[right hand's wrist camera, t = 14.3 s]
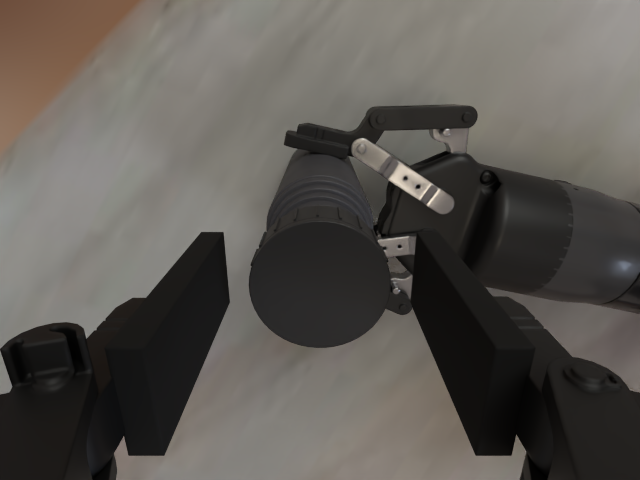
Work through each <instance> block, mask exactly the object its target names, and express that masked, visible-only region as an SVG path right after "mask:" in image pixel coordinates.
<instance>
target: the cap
mask: <svg viewBox="0 0 640 480" xmlns="http://www.w3.org/2000/svg"><path fill="white" fill-rule="evenodd" d="M387 262H388V259H387V257H386V254H385V252H384V249H383V247H382V246H380V244H379V242H378V239H377V237H376V235H375V232H374V230H373V228H372V229H370V227H369V226H368V225H367V224H366V223H365V222H364V221H363V220H361V219H360V217H359V216H358V215H357V216H356V215H354V214H352V213H350V212H348V211H346V210H343V209H341V208H340V207H339V206H338V208H336V207H332V206H324V205H321V206H319V204H317V206H308V207H303V208H300V209H298V208H296V209H295V210H294V211H292V212H290V213H288V214H286V215H284V216H283V217H281V218H280V217H279V218H277V221H276V222H275V223H274V224H273V225H272V226H271V227H270V228H269V230H268V231H267V232H264V234H263V237H262V239H261V242H260V244H259V249H257V250H256V252H255V255H254V257H253V260H252V262H251V266H252V267H251V271H250V276H249V291H250V297H251V301H252V304H253V306H254V309H255V311H256V312H257V314H258V316H259V317H260V319H261V320H262V321H263V323H264V324H265V325H266V326H267V327H268V328H269V329H270V330H271V331H273V332H274V333H275V334H277V335H278V336H280V337H281V338H283V339H285V340H287V341H289V342H292V343H295V344H298V345H301V346H306V347H314V348H327V347H334V346H338V345H343V344H345V343H348V342H351V341H353V340H355V339H357V338H359V337H360V336H362V335H363V334H365V333H366V332H367V331H368V330H370V329H371V328H372V327H373V326H374V325H375V324H376V322H377V321H378V320H379V318H380V317H381V316H382V314H383V312H384V310H385V308H386V306H387V303H388V300H389V296H390V291H391V278H390V272H389V268H388V265H387Z"/></svg>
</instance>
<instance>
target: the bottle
mask: <svg viewBox="0 0 640 480" xmlns="http://www.w3.org/2000/svg"><path fill="white" fill-rule="evenodd" d="M317 204H319V206H321V205H324V206H332V207H336V208H338V206H339V207H340V208H341V209H343V210H346V211H348V212H350V213H352V214H354V215H356V216H357V215H358V216H359V217H360V219H361V220H363V221H364V222H365V223H366V224H367V225H368V226H369V227H370V229H372V228H373V216H372V212H371V209H370V206H369V204H368V201H367V199H366V197H365V194H364V192H363V190H362V187H361V185H360V183H359V180H358V178H357V176H356V173H355V171H354V169H353V166H352V164H351V162H350V159H349V157H348V156H347V158H346V159H342V158H338V157H333V156H330V155H324V154H320V153H315V152H311V151H306V150H302V149H297V150H296V152H295V153H294V154H293V156H292V158H291V160H290V162H289V165H288V167H287V169H286V172H285V174H284V176H283V179H282V181H281V183H280V186H279V188H278V190H277V193H276V195H275V197H274V199H273V202H272V204H271V207H270V209H269V212H268V216H267V231H268V230H269V228H270V227H271V226H272V225H273V224H274V223H275V222H276V221H277V218H279V217H280V218H281V217H283V216H284V215H286V214H288V213H290V212H292V211H294V210H295V209H296V208H298V209H300V208H303V207H308V206H317Z"/></svg>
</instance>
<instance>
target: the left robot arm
mask: <svg viewBox="0 0 640 480" xmlns="http://www.w3.org/2000/svg"><path fill="white" fill-rule="evenodd" d="M476 120H477V111H476V110H475V109H474V108H473V107H471V106H464V105H417V106H379V107H372V108H370V109H369V110H368V111H367V113H366V116H365V117H364V119H363V121H362V122H361V124H360V125H359V127H358V128H357V129H355V130H353V131H350V132H346V131H342V130H337V129H333V128H328V127H324V126H320V125H315V124H311V123H304V124H299V125H298V129H297V132H295V131H287V132H286V136H285V142H284V145H286V146H289V147H293V148H297V149H302V150H306V151H311V152H315V153H320V154H324V155H330V156H333V157H338V158H342V159H346V158H347V156H352V157H355V158H357V159H358V160H360V161H361V162H363V163H364V164H366V165H367V166H369V167H370V168H372V169H373V170H375V171H377V172H378V173H379V174H381V175H382V176H383V177H385V178H386V179H387V180H389V183H388V186H387V190H386V204H385V205H384V207H383V209H382V210H381V212H380V215H379V218H378V222H373V230H374V232H375V235H376V237H377V239H378V242H379V244H380V246H382V247H383V249H384V252H385V254H386V257H393V256H395V257H396V258H397V259H398V260H399V261H400V262H401V264H402V265H403V266H404V267H405V268H406V269H407V271H405V272H404V273H400V274H399V273H394V272H391V273H390V278H391V291H390V296H389V300H388V303H387V306H386V309H388V310H390V311H393V312H395V313H397V314H400V315H405V314H408V313H409V312H410V311H411V309H412V305H411V303H410V299H411V288H412V277H413V266H414V255H415V244H416V233H417V232H439V233H440V234H441V236H442V237H443V238H444V239H445V240H446V242H447V243H448V244H449V245H450V246H451V248H452V249H453V250H454V251H455V252H456V253H457V255H458V256H459V257H460V258H461V259H462V261H463V262H464V263H465V264H466V265H467V267H468V268H469V269H470V270H471V271H472V272H473V274H474V275H475V276H476V277H477V278H478V280H479V281H480V282H481V283H482V284H483V286H485V287H490V288H495V289H500V290H505V291H510V292H515V293H520V294H525V295H530V296H535V297H540V298H545V299H550V300H555V301H562V302H578V303H588V304H593V305H598V306H603V307H608V308H613V309H618V310H623V311H628V312H633V313H638V314H640V204H636V203H632V202H627V201H623V200H619V199H616V198H613V197H610V196H608V195H605V194H603V193H600V192H598V191H595V190H592V189H588V188H584V187H579V186H575V185H572V184H570V183H568V182H565V181H560V180H554V181H553V180H549V179H544V178H540V177H536V176H531V175H527V174H522V173H518V172H513V171H509V170H504V169H500V168H496V167H491V166H487V165H483V164H479V163H478V162H476V161H475V160H474V159H473V158H472V157H471V156H470V155H469V154H467V153H466V149H467V140H468V130H469V128H470V127H471V126H473V125H474V124H475V122H476ZM425 129H429V134H430V136H431V137H432V138H433V139H434V140H437V141H439V142H443V143H444V144H445V145H446V151H444V152H442V153H440V154H437V155H435V156H432V157H430V158H428V159H425V160H423V161H421V162H418V163H416V164H414V165H411V166H409V165H407V164H406V163H404V162H403V161H401V160H400V159H398V158H397V157H395V156H394V155H392V154H391V153H389V152H388V151H386V150H384V149H383V148H381V147H380V146H378V145H377V144H376V142H377V141H378V139H379V138H380V136H381V135H382V133H383V132H384V131H386V130H425ZM377 231H378V232H377Z"/></svg>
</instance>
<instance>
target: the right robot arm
mask: <svg viewBox="0 0 640 480" xmlns="http://www.w3.org/2000/svg"><path fill="white" fill-rule="evenodd" d="M229 303H230V299H229V288H228V277H227V266H226V255H225V244H224V233H223V232H201V233H200V234H199V236H198V237H197V238H196V239H195V240H194V242H193V243H192V244H191V245H190V246H189V247H188V249H187V250H186V251H185V252H184V253H183V255H182V256H181V257H180V258H179V259H178V261H177V262H176V263H175V264H174V265H173V267H172V268H171V269H170V270H169V271H168V272H167V274H166V275H165V276H164V277H163V278H162V280H161V281H160V282H159V283H158V284H157V286H156V287H155V288H154V289H153V290H152V291H151V293H150V294H149V295H148V296H147V297H146V298H132V299H130V300H128V301H127V302H125V303H123V304H121V305H120V306H118V307H116V308H115V309H114V310H113V311H112V313H111V314H110V315H109V316H108V317H107V318H106V321H103V322H102V323H101V324H100V325H99V326H98V327H97V331H94V332H93V333H92V334H91V335H90V336H89V337H88V338H87V339H86V336H85V332H84V328H82V327H81V326H79V325H78V324H74V323H68V322H65V323H52V324H48V325H44V326H39V327H36V328H33V329H31V330H28V331H26V332H23V333H21V334H19V335H18V336H16V337H14V338H12V339H11V340H9V341H8V342H7V343H6V344H5V345H4V346H3V347H2V348H1V349H0V351H1V354H2V357H3V360H4V363H5V366H6V369H7V372H8V375H9V378H10V381H11V384H12V389H11V391H10V393H6V394H1V395H0V480H116V474H117V466H116V460H115V456H114V452H115V450H116V448H117V447H118V445H119V443H120V441H121V440H122V438H123V436H124V437H125V442H126V446H127V451H128V455H129V456H164V455H165V453H166V450H167V448H168V446H169V443H170V441H171V439H172V436H173V434H174V432H175V429H176V427H177V424H178V422H179V420H180V417H181V415H182V413H183V410H184V408H185V406H186V403H187V401H188V399H189V396H190V394H191V392H192V389H193V387H194V385H195V382H196V380H197V378H198V375H199V373H200V371H201V368H202V366H203V364H204V361H205V359H206V357H207V354H208V352H209V350H210V347H211V345H212V343H213V340H214V338H215V336H216V333H217V331H218V329H219V326H220V324H221V322H222V319H223V317H224V315H225V312H226V310H227V308H228V305H229ZM410 303H411V305H412V308H413V310H414V312H415V315H416V317H417V319H418V322H419V324H420V326H421V329H422V331H423V333H424V336H425V338H426V340H427V343H428V345H429V347H430V350H431V352H432V354H433V357H434V359H435V361H436V364H437V366H438V368H439V371H440V373H441V375H442V378H443V380H444V382H445V385H446V387H447V389H448V392H449V394H450V396H451V399H452V401H453V403H454V406H455V408H456V410H457V413H458V415H459V417H460V420H461V422H462V425H463V427H464V429H465V432H466V434H467V436H468V439H469V441H470V443H471V446H472V448H473V450H474V453H475V455H476V456H511V455H512V451H513V446H514V442H515V437H516V434H517V436H518V438H519V439H520V441H521V443H522V445H523V446H524V448H525V450H526V456H525V460H524V464H523V468H522V473H521V477H520V480H640V393H639V392H634V391H630V390H629V388H628V386H627V385H626V384H625V383H624V382H623V380H622V379H621V378H620V377H619V376H617V375H616V374H615V373H613V372H612V371H610V370H609V369H607V368H605V367H603V366H601V365H599V364H597V363H594V362H592V361H588V360H584V359H581V358H575V357H572V356H571V355H570V354H569V353H568V352H567V351H566V350H565V349H564V348H563V347H562V346H561V345H560V343H559V342H558V341H557V340H556V339H555V338H554V337H553V336H552V335H551V334H550V333H549V332H548V331H547V330H546V329H544V328H543V326H542V325H541V323H540V322H539V321H538V320H535V317H534V316H533V315H532V314H531V313H530V312H529V311H528V310H527V309H526V308H525V307H524V306H523V305H521V304H519V303H518V302H516V301H514V300H512V299H511V298H509V297H493V296H492V295H491V294H490V293H489V292H488V290H487V289H486V288H485V287H484V286H483V284H482V283H481V282H480V281H479V280H478V278H477V277H476V276H475V275H474V274H473V272H472V271H471V270H470V269H469V268H468V267H467V265H466V264H465V263H464V262H463V261H462V259H461V258H460V257H459V256H458V255H457V253H456V252H455V251H454V250H453V249H452V248H451V246H450V245H449V244H448V243H447V242H446V240H445V239H444V238H443V237H442V236H441V234H440V233H439V232H417V233H416V244H415V255H414V266H413V277H412V288H411V299H410Z"/></svg>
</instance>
